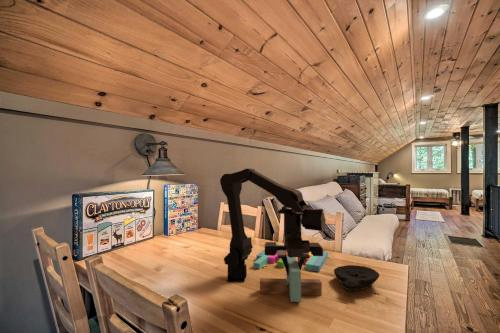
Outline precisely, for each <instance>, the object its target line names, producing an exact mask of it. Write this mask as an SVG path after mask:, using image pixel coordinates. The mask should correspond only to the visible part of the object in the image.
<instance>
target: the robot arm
mask: <svg viewBox="0 0 500 333" xmlns="http://www.w3.org/2000/svg"><path fill="white" fill-rule="evenodd" d="M246 182H250V183H252V184H254V185H256V187H257V186H258V187H259V188H260V189H262V190H265V191H266V192H268V193H269V194H271V195H272V196H274V197H275V199H276V200H277V202H279V203H280V204H281V205H282V206H281V208H280V209H279V210H278V211H277V214H283V244H277V242H276V241H274V242H273V241H272V242H271V241H267V242H266V241H265V243H264V250H265V255H271V256H274V255H275V254H276V253H277V256H278V258H281V259H282V261H283V263H284V266H285V267H284V269H285V271H286V272H287V275H289V270H288V262H287V255H288V257H290V258H293V257H298V262H297V263H298V266H299V268H300V271H301V270H302V268H303V265H304V264H303V263H304V261H305V260H306V259H307V258H310V256H309V252H311V254H312V255H313V256H323V251H324V248H323V247H322V245H321V244H320V243H319V242H310V240H308V239H307V240H304V239H303V238H302V228H304V229H305V230H308V231H316V232H317V231H318V232H319V231H320V232H324V231H325V228H326V224H327V222H326V221H327V220H326V215H325V213H324V208H310V206H309V205H308V204H307V203H306V201H305V200H304V198H303V197H304V196H303V193H302V192H301V191H300V190H298V189H295V188H294V187H290V186H286V185H284V184H283V185H282V184H280V183H278V182H276V181H274V180H273V179H272V178H269V177H268V176H266V175H264V174H262V173H260V172H258V171H256V170H255V168H244V169H243V170H242V169H241V170H239V171H235V172H232V173H223V175H221V177H220V178H219V184H220V187H221V191H222V192H223V194H224V195H225V198H226V199H227V207H228V216H229V222H230V228H231V229H230V230H231V238H230V241H229V252H228V253H227V254H226V255H225V256H224V258H223V261H224V264H225V265H226V266H227V277H226V282H228V283H229V282H231V283H232V282H233V283H234V282H235V283H237V282H239V283H240V282H241V283H244V282H245V281H246V279H247V276H248V275H247V264H246V260H248V258H249V256H250V254H251V253H252V251H253V250H252V249H253V248H254V246H253V244H252V237H251V236H249V237H248V236H247V234H246V232H245V225H244V218H243V210H242V204H241V197H240V195H241V192H242V186H243V183H246ZM276 244H277V245H276ZM282 245H284V246H282ZM286 252H287V255H286Z"/></svg>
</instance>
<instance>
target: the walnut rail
mask: <svg viewBox="0 0 500 333" xmlns="http://www.w3.org/2000/svg"><path fill="white" fill-rule="evenodd" d="M322 282H323V281H321V279H320V278H313V279H312V278H301V296H302V295H304V296H307V295H309V296H310V295H311V296H322V295H323V293H322V289H323V286H322V285H323V284H322ZM259 294H260V295H261V294H262V295H290V294H289V285H287V278H273V277H272V278H271V277H270V278H269V277H268V278H267V277H265V278H262V277H260V278H259Z"/></svg>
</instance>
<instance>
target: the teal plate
mask: <svg viewBox="0 0 500 333" xmlns="http://www.w3.org/2000/svg"><path fill="white" fill-rule="evenodd" d="M287 262H288V270H289V275H287V272H286V274H285V275H286V280H287V285H289V294H288V295H289V300H290V302H291V303H293V302H295V303H301V302H302V295H301V279H302V276H301V275H302V272H301V271H300V268H299V266H298V263H297V260H296V258H295V257H293V258H290V257H288V256H287Z"/></svg>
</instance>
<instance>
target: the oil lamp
mask: <svg viewBox="0 0 500 333" xmlns="http://www.w3.org/2000/svg"><path fill="white" fill-rule="evenodd" d="M333 273H334V276H335V277H336V278H337V279H338V280H339V281H340V282H341V283H340V285H341V286H342V287H343V288H345V289H347V291H351V292H355V291H359V290H364V289H367V288H369V287H372V285H374V283H375V282H377V280H378V278H379V277H380V273H379V272H378V271H377V270H375V269H373V268H371V267H368V266H361V265H354V264H353V265H352V264H351V265H350V264H347V265H341V266H337V267H335V268H334V269H333Z"/></svg>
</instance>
